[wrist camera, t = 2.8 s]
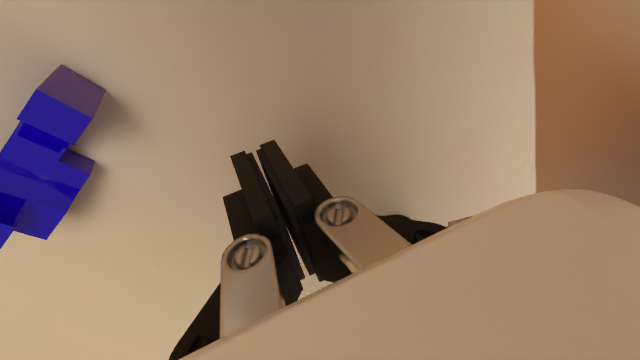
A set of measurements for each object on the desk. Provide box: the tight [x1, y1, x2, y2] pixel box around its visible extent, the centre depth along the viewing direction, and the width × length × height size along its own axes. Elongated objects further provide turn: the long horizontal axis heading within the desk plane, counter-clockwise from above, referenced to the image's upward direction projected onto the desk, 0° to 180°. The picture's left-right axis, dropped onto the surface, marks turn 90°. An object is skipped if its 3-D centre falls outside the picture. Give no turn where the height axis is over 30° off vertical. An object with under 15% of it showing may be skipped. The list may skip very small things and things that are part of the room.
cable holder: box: [0, 65, 105, 249], centre depth 16 cm, size 8×4×4 cm, turn 136°
